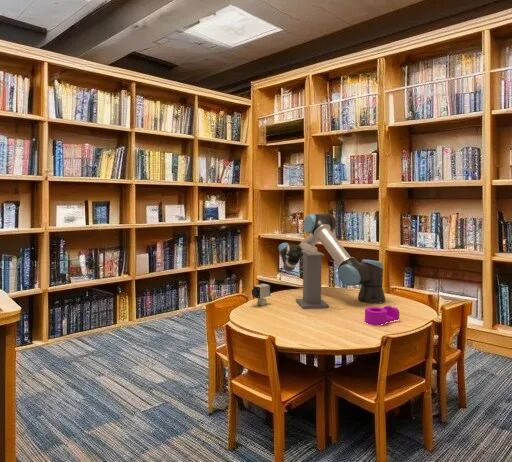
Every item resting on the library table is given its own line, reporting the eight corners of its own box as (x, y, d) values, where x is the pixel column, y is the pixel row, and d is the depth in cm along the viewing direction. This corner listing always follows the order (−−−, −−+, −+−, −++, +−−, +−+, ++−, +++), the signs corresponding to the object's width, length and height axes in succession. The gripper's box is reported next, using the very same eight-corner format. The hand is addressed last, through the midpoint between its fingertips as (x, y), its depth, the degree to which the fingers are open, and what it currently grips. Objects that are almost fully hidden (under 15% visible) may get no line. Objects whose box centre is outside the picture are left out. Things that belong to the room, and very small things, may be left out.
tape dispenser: (375, 327, 190) (375, 313, 189) (360, 321, 198) (360, 308, 198) (400, 322, 197) (400, 309, 197) (384, 317, 206) (385, 304, 205)
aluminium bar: (317, 253, 222) (317, 247, 222) (311, 253, 222) (311, 247, 222) (306, 248, 244) (306, 243, 244) (301, 248, 244) (301, 243, 243)
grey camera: (272, 303, 231) (272, 282, 230) (257, 307, 222) (257, 285, 221) (264, 302, 234) (264, 281, 233) (250, 305, 226) (250, 284, 225)
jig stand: (329, 308, 221) (329, 254, 218) (303, 309, 219) (303, 254, 216) (319, 300, 238) (319, 249, 236) (295, 300, 236) (295, 250, 234)
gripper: (311, 264, 273) (320, 252, 253) (274, 265, 269) (280, 253, 250) (310, 254, 276) (318, 241, 257) (273, 255, 272) (278, 242, 253)
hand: (299, 247), depth 253 cm, fingers open, 13 cm apart
